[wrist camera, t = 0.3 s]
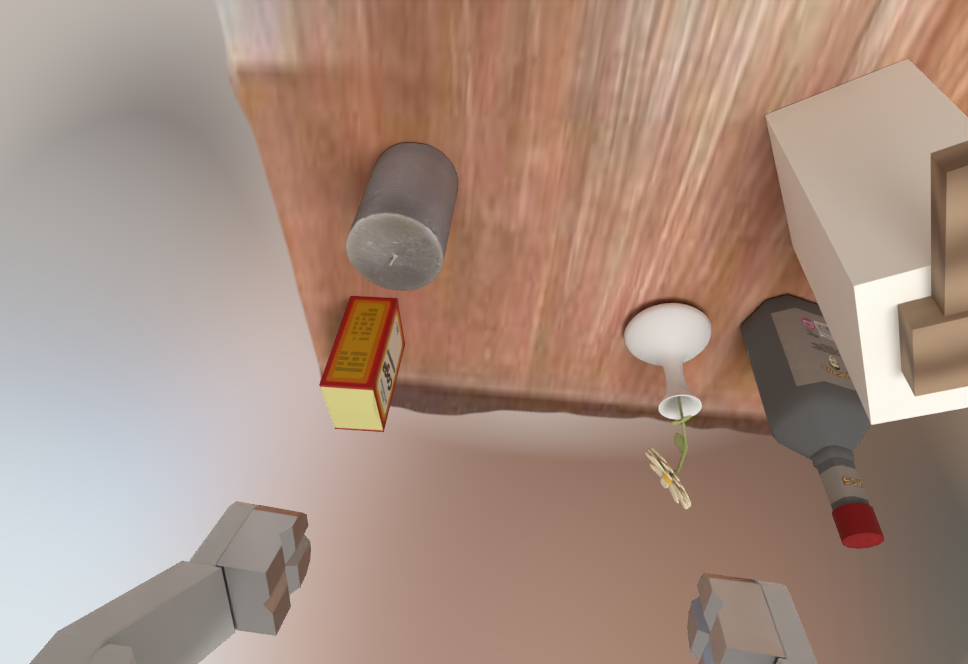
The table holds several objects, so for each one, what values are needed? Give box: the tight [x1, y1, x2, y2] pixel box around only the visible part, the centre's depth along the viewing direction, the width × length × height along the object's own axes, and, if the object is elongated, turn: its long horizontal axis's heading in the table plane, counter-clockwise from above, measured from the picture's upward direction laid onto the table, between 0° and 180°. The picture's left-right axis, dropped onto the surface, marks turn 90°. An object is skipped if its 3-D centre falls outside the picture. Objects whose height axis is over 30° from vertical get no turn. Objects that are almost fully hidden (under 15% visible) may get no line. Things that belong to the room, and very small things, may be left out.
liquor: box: [741, 295, 884, 549], centre depth 66 cm, size 9×9×30 cm
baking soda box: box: [320, 296, 405, 432], centre depth 78 cm, size 10×6×16 cm
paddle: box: [898, 141, 968, 396], centre depth 37 cm, size 20×7×2 cm, turn 29°
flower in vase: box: [624, 303, 712, 509], centre depth 71 cm, size 13×11×25 cm
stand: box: [765, 58, 968, 424], centre depth 51 cm, size 18×12×25 cm, turn 29°
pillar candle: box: [346, 143, 458, 291], centre depth 60 cm, size 10×10×15 cm
